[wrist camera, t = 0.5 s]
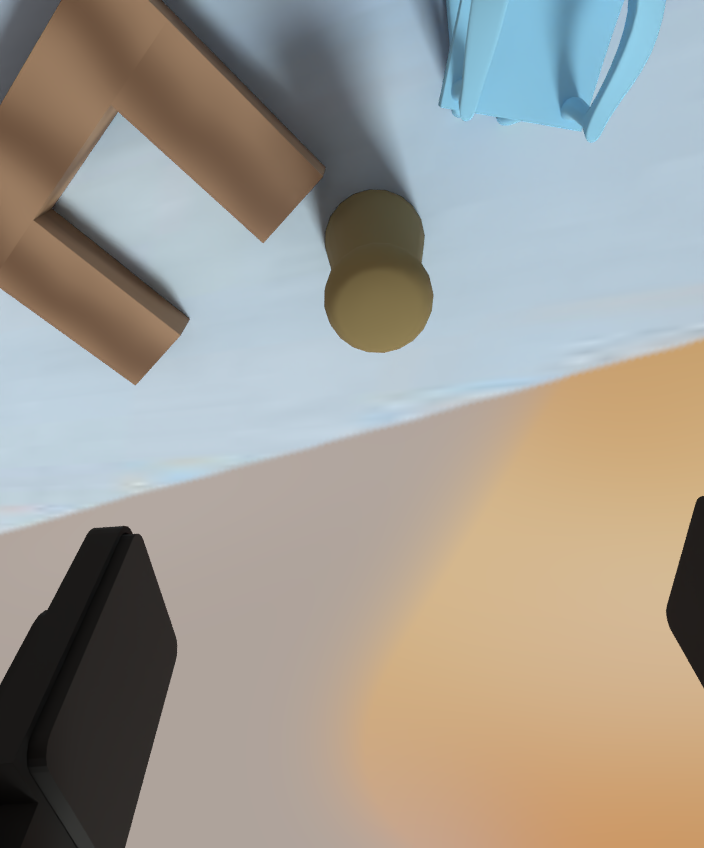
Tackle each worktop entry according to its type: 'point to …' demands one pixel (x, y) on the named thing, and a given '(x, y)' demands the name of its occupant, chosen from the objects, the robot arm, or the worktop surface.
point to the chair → (544, 59)
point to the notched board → (165, 127)
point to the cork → (376, 272)
